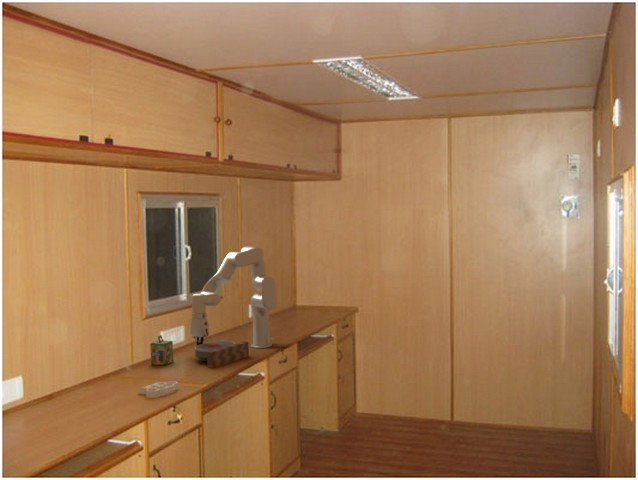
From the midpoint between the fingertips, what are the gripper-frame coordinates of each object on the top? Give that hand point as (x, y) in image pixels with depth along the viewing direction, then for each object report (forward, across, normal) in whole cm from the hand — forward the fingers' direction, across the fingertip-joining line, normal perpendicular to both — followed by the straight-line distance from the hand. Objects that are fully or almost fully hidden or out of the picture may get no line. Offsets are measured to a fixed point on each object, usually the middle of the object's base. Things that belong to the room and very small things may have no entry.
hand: (199, 348), depth 380 cm
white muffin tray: (+5, -34, +63) cm, 72 cm away
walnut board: (+4, -22, +2) cm, 23 cm away
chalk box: (+5, +7, +22) cm, 23 cm away
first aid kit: (+5, -11, 0) cm, 12 cm away
